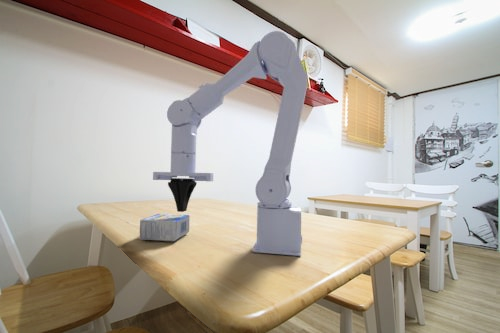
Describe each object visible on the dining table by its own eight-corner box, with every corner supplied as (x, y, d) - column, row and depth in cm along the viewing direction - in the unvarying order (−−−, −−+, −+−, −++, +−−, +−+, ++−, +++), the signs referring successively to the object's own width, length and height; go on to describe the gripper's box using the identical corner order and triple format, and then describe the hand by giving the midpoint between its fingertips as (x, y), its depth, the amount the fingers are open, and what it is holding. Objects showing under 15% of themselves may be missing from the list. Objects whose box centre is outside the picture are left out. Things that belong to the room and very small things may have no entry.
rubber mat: (186, 233, 57) (186, 231, 57) (172, 241, 50) (172, 239, 51) (163, 231, 58) (163, 230, 59) (146, 239, 52) (146, 237, 52)
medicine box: (176, 221, 49) (139, 219, 50) (175, 241, 49) (138, 239, 50) (190, 214, 57) (157, 213, 58) (189, 232, 57) (157, 230, 58)
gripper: (217, 155, 57) (216, 209, 56) (164, 155, 59) (163, 207, 59) (207, 153, 50) (206, 214, 49) (148, 152, 52) (146, 211, 52)
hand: (181, 211), depth 54 cm, fingers closed
